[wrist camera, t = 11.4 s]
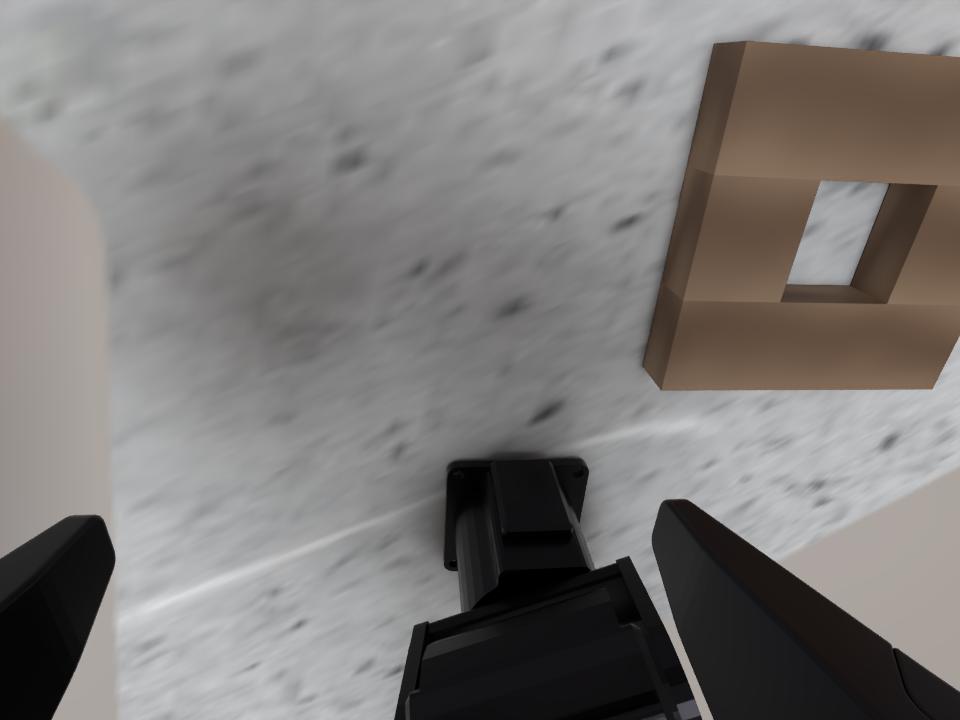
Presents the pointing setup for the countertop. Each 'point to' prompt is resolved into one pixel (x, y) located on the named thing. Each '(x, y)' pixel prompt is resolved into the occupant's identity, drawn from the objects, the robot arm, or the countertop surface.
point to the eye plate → (784, 213)
